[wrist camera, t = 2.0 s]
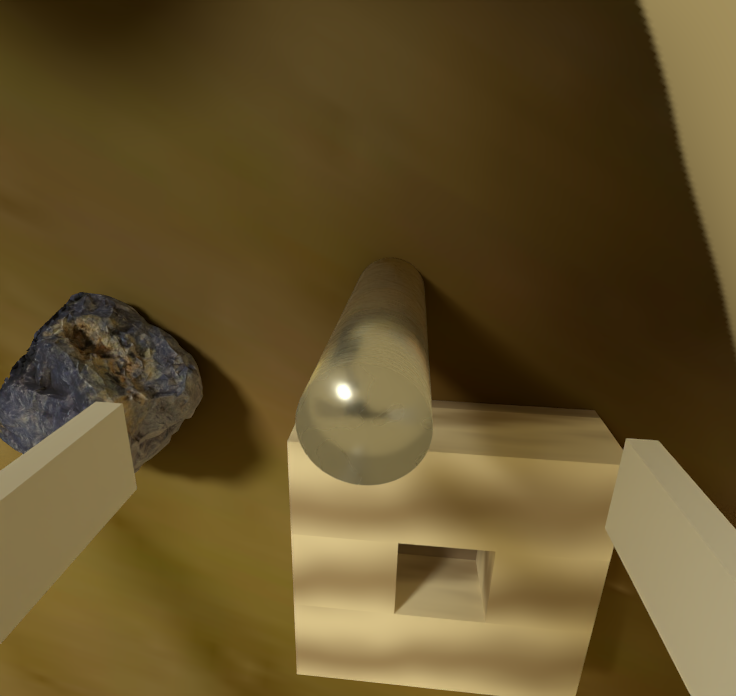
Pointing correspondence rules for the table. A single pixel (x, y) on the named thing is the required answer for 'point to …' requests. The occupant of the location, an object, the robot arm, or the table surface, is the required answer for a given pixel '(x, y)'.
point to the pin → (372, 382)
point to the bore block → (459, 555)
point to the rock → (100, 376)
